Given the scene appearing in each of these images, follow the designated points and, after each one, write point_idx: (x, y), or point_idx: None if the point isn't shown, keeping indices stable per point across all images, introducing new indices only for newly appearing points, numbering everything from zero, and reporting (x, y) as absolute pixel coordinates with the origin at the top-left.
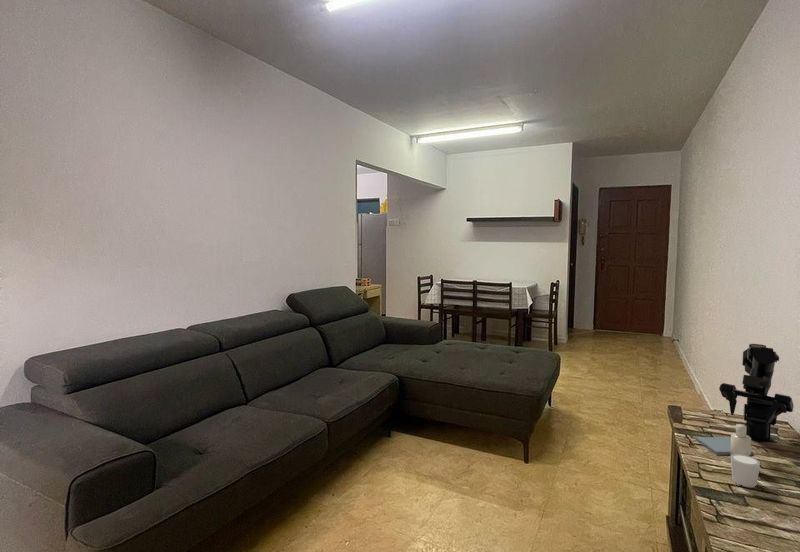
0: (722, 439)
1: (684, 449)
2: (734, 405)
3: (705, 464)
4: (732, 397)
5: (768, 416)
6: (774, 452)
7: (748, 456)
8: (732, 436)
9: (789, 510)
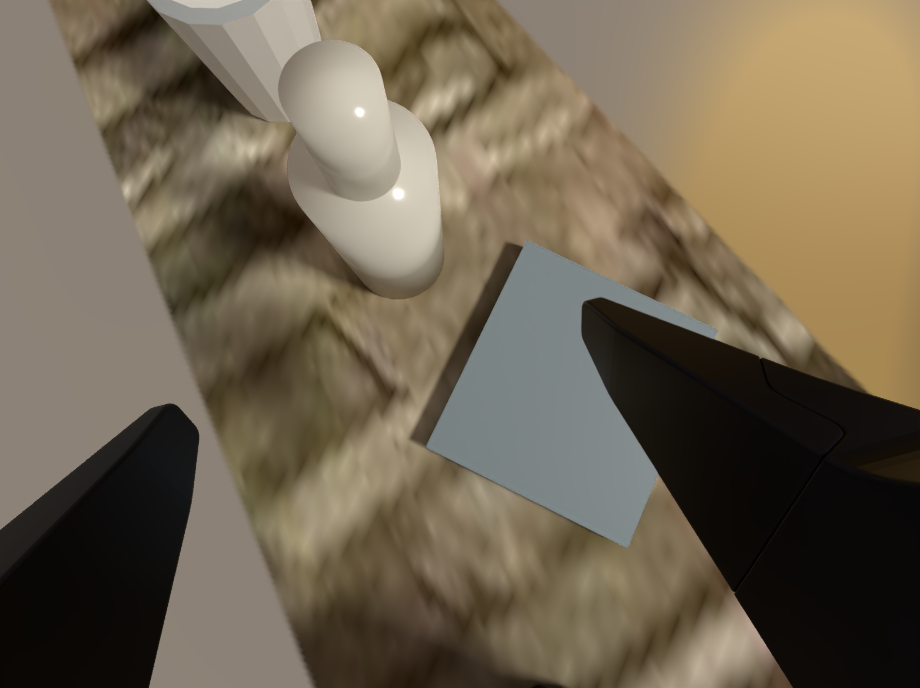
0: (625, 460)
1: (638, 152)
2: (699, 471)
3: (475, 86)
4: (913, 469)
5: (88, 472)
6: (388, 611)
7: (219, 7)
8: (399, 105)
9: (65, 7)
